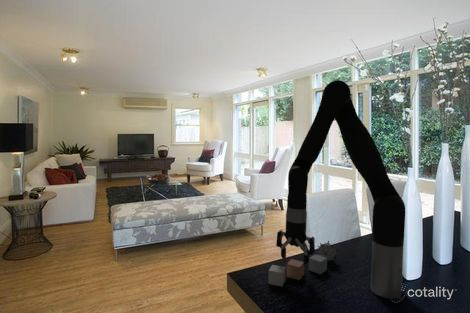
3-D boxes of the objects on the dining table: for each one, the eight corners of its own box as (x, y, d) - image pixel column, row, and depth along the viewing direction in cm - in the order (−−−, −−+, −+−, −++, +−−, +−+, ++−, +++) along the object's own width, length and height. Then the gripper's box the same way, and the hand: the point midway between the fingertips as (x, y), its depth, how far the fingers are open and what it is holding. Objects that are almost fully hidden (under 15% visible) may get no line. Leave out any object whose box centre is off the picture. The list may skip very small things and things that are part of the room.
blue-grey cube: (326, 270, 115) (327, 258, 114) (320, 274, 111) (320, 261, 111) (315, 266, 118) (315, 254, 118) (308, 270, 115) (309, 257, 115)
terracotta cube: (303, 274, 111) (304, 262, 111) (299, 280, 107) (299, 267, 106) (291, 271, 114) (291, 259, 113) (286, 276, 109) (286, 263, 109)
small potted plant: (322, 270, 122) (308, 252, 121) (326, 256, 129) (313, 239, 128) (341, 266, 117) (327, 246, 116) (344, 251, 124) (331, 233, 123)
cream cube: (285, 280, 107) (285, 266, 107) (282, 286, 102) (282, 272, 102) (271, 277, 109) (272, 264, 108) (268, 284, 104) (268, 270, 104)
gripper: (318, 219, 108) (316, 262, 110) (282, 213, 116) (280, 253, 117) (312, 225, 102) (310, 269, 103) (274, 218, 110) (273, 259, 111)
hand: (294, 261), depth 110 cm, fingers open, 8 cm apart
